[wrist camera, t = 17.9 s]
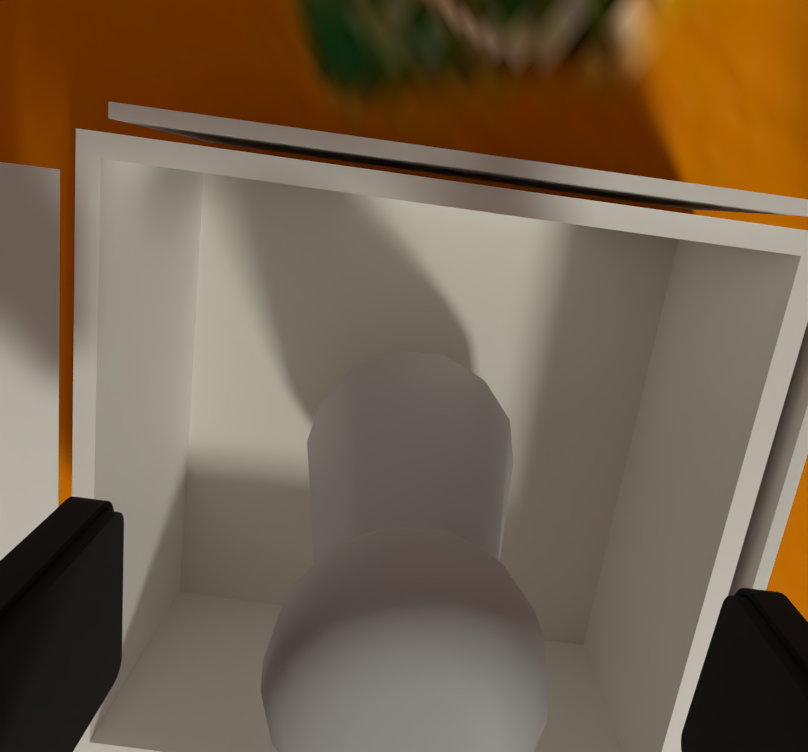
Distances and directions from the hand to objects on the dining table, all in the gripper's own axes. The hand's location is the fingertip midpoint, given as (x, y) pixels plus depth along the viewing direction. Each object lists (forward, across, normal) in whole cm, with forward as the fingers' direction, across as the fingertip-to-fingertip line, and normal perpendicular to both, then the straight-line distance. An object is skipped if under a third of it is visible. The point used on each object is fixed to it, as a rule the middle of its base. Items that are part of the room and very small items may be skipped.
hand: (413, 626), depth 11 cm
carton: (+12, 0, +1) cm, 12 cm away
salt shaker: (+12, 0, +1) cm, 12 cm away
